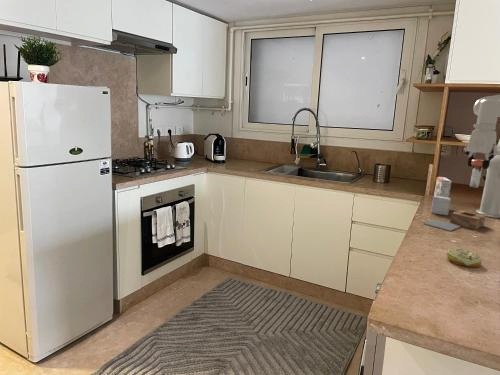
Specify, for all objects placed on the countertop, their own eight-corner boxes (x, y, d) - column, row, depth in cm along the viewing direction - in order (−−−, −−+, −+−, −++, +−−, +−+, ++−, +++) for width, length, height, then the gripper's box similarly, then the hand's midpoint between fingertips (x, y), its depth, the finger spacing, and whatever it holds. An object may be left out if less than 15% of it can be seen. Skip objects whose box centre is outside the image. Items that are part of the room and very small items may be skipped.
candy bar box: (431, 205, 213) (436, 176, 210) (441, 206, 212) (446, 177, 209) (437, 210, 203) (442, 180, 199) (447, 211, 202) (452, 181, 198)
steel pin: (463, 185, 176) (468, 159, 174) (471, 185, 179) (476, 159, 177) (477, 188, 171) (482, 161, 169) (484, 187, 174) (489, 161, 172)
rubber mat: (434, 220, 183) (434, 219, 183) (461, 226, 175) (461, 225, 175) (423, 224, 175) (423, 223, 175) (450, 231, 167) (450, 230, 167)
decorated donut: (471, 271, 126) (473, 260, 125) (440, 259, 134) (441, 249, 133) (486, 265, 132) (488, 255, 131) (455, 254, 140) (457, 244, 139)
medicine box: (447, 213, 196) (450, 197, 195) (447, 216, 192) (450, 199, 191) (430, 211, 200) (433, 195, 198) (430, 213, 196) (433, 197, 194)
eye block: (458, 219, 187) (460, 209, 186) (483, 225, 179) (485, 215, 178) (449, 223, 180) (451, 213, 179) (475, 229, 172) (477, 219, 171)
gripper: (461, 125, 175) (454, 164, 179) (501, 129, 160) (493, 171, 164) (470, 126, 178) (463, 164, 182) (510, 129, 164) (502, 170, 168)
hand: (477, 167), depth 173 cm, fingers closed on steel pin, 6 cm apart
